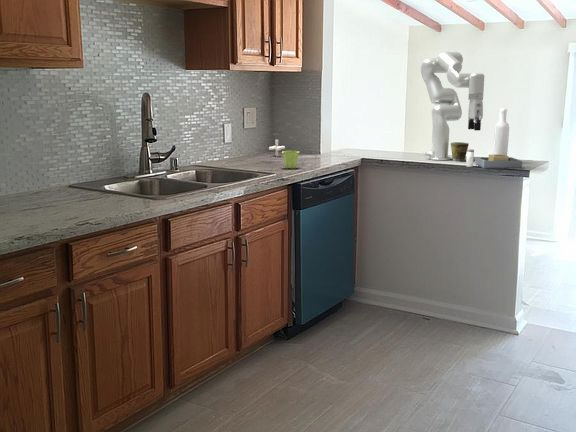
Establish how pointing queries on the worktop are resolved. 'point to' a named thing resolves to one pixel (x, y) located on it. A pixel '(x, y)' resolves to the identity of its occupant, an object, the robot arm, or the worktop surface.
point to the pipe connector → (276, 147)
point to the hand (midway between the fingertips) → (474, 129)
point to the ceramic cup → (459, 150)
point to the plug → (470, 157)
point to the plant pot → (290, 158)
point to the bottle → (501, 135)
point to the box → (498, 162)
